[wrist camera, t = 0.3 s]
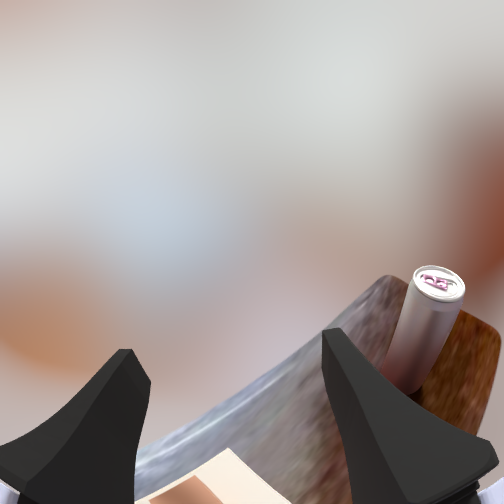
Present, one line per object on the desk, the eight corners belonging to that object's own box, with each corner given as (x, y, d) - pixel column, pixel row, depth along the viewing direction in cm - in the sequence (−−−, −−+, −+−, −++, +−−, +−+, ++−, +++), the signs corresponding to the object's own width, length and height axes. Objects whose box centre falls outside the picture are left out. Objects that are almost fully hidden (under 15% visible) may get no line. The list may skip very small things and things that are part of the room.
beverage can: (388, 355, 32) (417, 258, 25) (426, 369, 29) (467, 274, 21) (371, 388, 28) (405, 289, 21) (413, 404, 25) (465, 308, 17)
